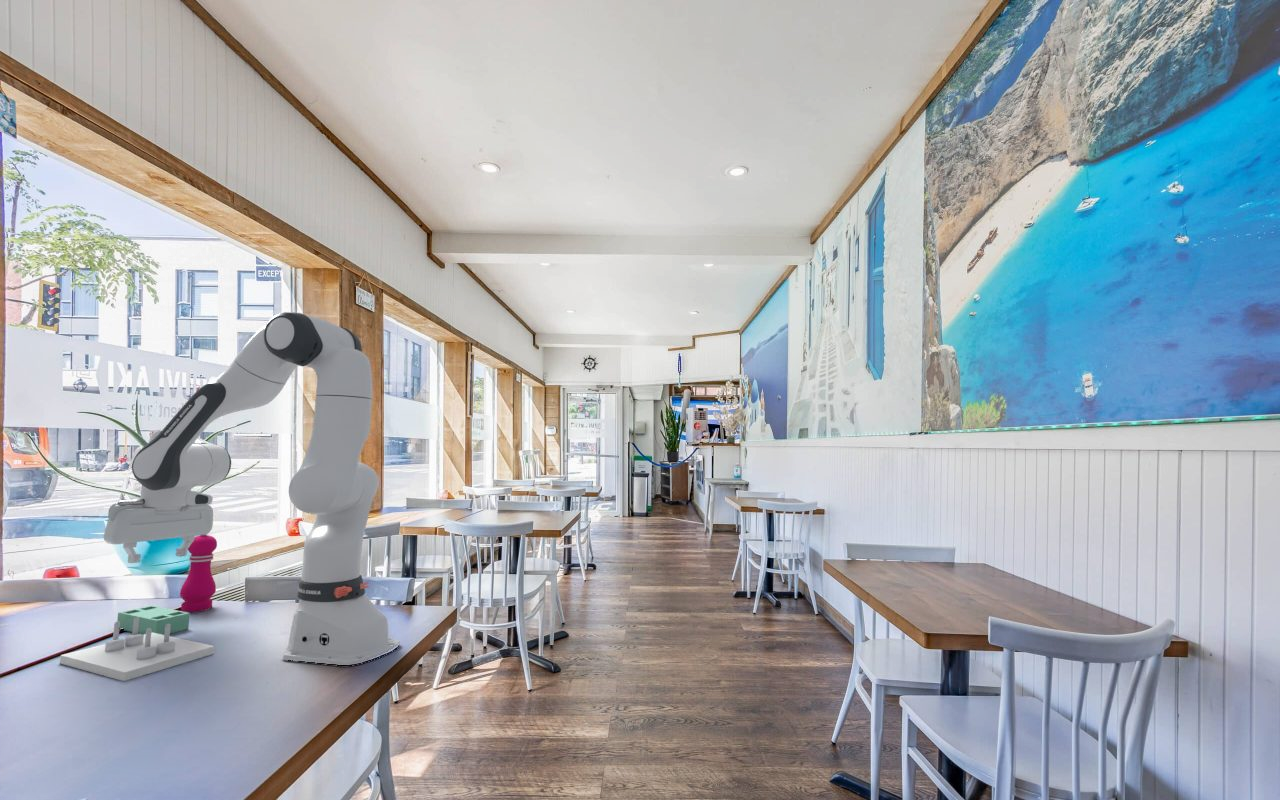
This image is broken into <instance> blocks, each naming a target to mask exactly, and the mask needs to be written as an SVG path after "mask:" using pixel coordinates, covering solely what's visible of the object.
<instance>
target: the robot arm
mask: <svg viewBox="0 0 1280 800" xmlns="http://www.w3.org/2000/svg"><path fill="white" fill-rule="evenodd" d="M362 345H363V344H362V342H361V340H360V339H359V337H358V336H357V335H356V333H354V332H352V331H351V330H349V329H348V328H345V327H344V326H343V327H342V326H338V325H336V324H334V323H332V322H329V321H328V320H326V319H324V318H320V317H316V316H311V315H307V314H304V313H302V312H295V311H284V312H280V313H278V314H274V316H272V317H271V318H270V319H269V320H268V321H267V324H266V325H264V326H262V327H261V328H259V330H257V331H256V333H254V334H253V336H252V337H250V339H249V340H248V341H247V342H246V343H245V344H244V346H243V347H241V348H242V349H241V350H240V351H239V352H238V354H237V355H236V356H235V358H234V360H233V361H232V362H231V364H230V365H229V366H228V367H227V368H226V369H225V370H224V371H223V372H222V373H221V374H219V375H218V377H216V378H214V379H213V380H211V381H209V382H208V383H206V384H204V385H202V386H201V387H200V388H199V389H198V390H197V391H195V392H194V394H193V395H192V396H190V398H189V399H188V400H187V401H186V402H185V403H184V405H183V406H182V407H181V408H180V409H179V410H178V411H177V413H176V414H175V415H174V416H173V417H172V418H171V419H170V421H168V422H167V424H166V425H165V426H164V428H162V429H157V430H156V431H154V432H152V434H151V436H150V438H149V441H148V443H146V444H145V445H144V446H143V447H142V448H140V449H139V451H138V452H137V454H136V455H135V457H133V461H132V463H131V471H132V474H133V476H134V478H135V479H136V481H137V482H138V483H139V484H140V485H141V490H140V495H139V496H140V497H139V499H131V500H125V499H124V500H119V501H117V502H115V503H114V504H112V505H111V506H110V507H109V509H108V512H107V518H108V519H107V522H106V524H105V525H106V527H105V528H104V529H105V530H104V534H103V540H104V541H105V542H106V544H110V545H123V546H122V548H123V549H124V551H125V552H126V555H128V556H127V564H135V563H140V562H141V557H142V554H141V553H137V552H136V551H135V549H134V548H137V546H138V545H137V544H138V543H143V542H150V541H159V540H161V541H162V540H168V539H177V538H181V540H182V541H183V542H182V543H181V545H180V546H179V547H177V548H176V549H175V557H186V556H187V555H188V548H189V546H190V545H191V544H192V542H193V541H194V537H197V536H200V535H205V534H207V535H209V533H210V532H211V531H212V530H213V526H214V510H213V507H212V506H211V504H212V502H213V500H214V499H213V496H212V495H210V494H206V493H202V492H198V491H195V490H191V488H192V487H199V486H200V487H201V486H202V487H204V486H212V485H215V484H219V483H222V482H223V481H224V480H225V479H226V478H227V477H228V476H229V473H230V471H231V467H232V458H231V454H230V453H229V452H228V450H227V449H226V448H225V447H224V446H223V445H222V446H221V445H219V444H218V445H216V444H214V443H212V442H209V441H206V440H205V439H203V438H201V437H200V436H201V435H202V434H203V432H204V431H205V430H206V429H207V427H208V426H209V425H210V424H212V422H214V421H216V420H217V419H219V418H221V417H223V416H227V415H229V414H233V413H236V412H241V411H245V410H252V409H256V408H257V409H258V408H260V407H264V406H266V405H268V404H269V403H271V402H272V401H273V400H274V399H276V398H277V396H279V394H280V393H281V392H282V390H283V389H284V387H285V385H286V383H287V382H288V381H289V379H290V377H291V375H292V374H293V372H294V371H295V369H296V368H298V367H308V368H312V369H313V371H314V372H315V375H316V391H315V401H314V402H315V403H314V412H313V413H314V414H313V426H312V431H311V436H310V440H309V443H308V445H307V449H306V452H305V455H304V457H303V460H302V462H301V466H300V468H299V469H298V471H296V473H295V474H294V475H293V476H292V478H291V480H290V482H289V486H288V496H289V499H290V502H291V503H292V504H293V506H294V508H296V509H297V510H299V511H301V512H303V513H306V514H311V515H316V516H315V519H314V523H313V525H312V527H311V530H310V531H309V533H308V535H307V537H306V538H305V540H304V545H303V557H302V567H301V577H300V579H299V580H298V585H297V598H298V599H299V600H298V604H297V607H296V610H295V612H294V614H293V617H292V618H293V619H292V624H291V627H290V628H291V629H290V633H289V639H288V644H287V648H286V651H285V652H284V653H283V655H282V660H283V661H288V660H291V661H290V662H298V661H305V662H304V663H307V662H315V663H314V664H317V663H329V664H338V665H350V664H353V663H357V662H361V661H364V660H368V659H370V658H373V657H376V656H378V655H381V654H383V653H385V652H388V651H389V650H391V649H393V648H394V647H396V646H397V645H398V644H399V643H401V642H400V640H398V639H395V638H393V637H390V636H389V624H388V623H389V622H388V619H387V617H386V615H385V614H384V613H383V612H382V611H381V610H380V609H379V608H378V607H377V606H376V605H375V604H374V603H373V602H372V601H371V599H369V597H368V596H367V595H366V589H367V588H369V587H370V586H369V585H368V584H370V581H366V582H364V580H363V576H362V575H361V564H362V550H363V542H364V535H365V531H366V526H367V522H368V520H369V516H370V512H371V509H372V508H371V507H372V504H373V500H374V499H375V496H376V494H377V492H378V490H379V487H380V479H379V476H378V474H377V472H376V470H375V469H373V468H372V467H371V466H369V465H367V464H366V463H363V462H361V461H360V458H361V453H362V450H363V447H364V445H365V442H366V441H367V440H368V438H369V436H370V432H371V422H372V421H371V420H372V419H371V418H372V406H373V405H372V404H373V402H372V401H373V375H372V373H373V372H372V367H371V361H370V358H369V357H368V356H367V355H366V354H365V353H364V352H363V346H362ZM390 645H393V646H390ZM292 660H293V661H292Z"/></svg>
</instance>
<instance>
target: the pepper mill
mask: <svg viewBox="0 0 1280 800" xmlns="http://www.w3.org/2000/svg"><path fill="white" fill-rule="evenodd" d="M217 546H218V541H217V539H216V538H215V536H212V535H209V534H205V535H196V536H194V541H193V542H192V544H191V545H190V546H189V548H188V550H187V552H189V554H190V555H189V556H188V558H189V559H188V562H190V567H189V572H188V575H187V576H186V578H185V581H184V583H182V586H181V588H180V591H179V592H180V593H179V596H180V598H181V599H182V600H183V601H184V602H181V604H180V605H181V606H180V611H182V612H187V613H197V612H202V611H207V610H211V608H212V607H213V599H211V598H212V597H213V596H214V595H215V594H216V591H217V586H216V582H215V580H214V577H213V574H212V571H211V569H212V568H211V564H212V560H214V553H213V552H215V550H216V549H217Z"/></svg>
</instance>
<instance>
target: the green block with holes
mask: <svg viewBox="0 0 1280 800" xmlns="http://www.w3.org/2000/svg"><path fill="white" fill-rule="evenodd" d="M190 614H191V612H182V611H181V610H176V609H171V608H167V607H161V606H157V605H147V606H143V607H142V606H141V607H138V608H133V609H130V610H124V611H120V612H119V611H118V612H117V621H119V622H120V628H123V629H124V630H123V631H125V632H126V631H127V632H130V633H133V623H134V618H135V617H139V625H138V634H143V635H144V634H146V630H147V629H148V628H151V629H152V632H153V633H157V634H162V635H164V634H165V625H166V624H170V625H171V626H170V634H173V633H177V632H182V631H185V630H189V627H190V616H191V615H190ZM117 621H116V622H117ZM152 632H151V633H152Z"/></svg>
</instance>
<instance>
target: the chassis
mask: <svg viewBox="0 0 1280 800" xmlns="http://www.w3.org/2000/svg"><path fill="white" fill-rule="evenodd" d="M138 625H139V617H135V618H134V623H133V632H131V634H132V635H127V636H126V637H125V638H119V636H120V635H119V634H120V629H119V628H120V622H119V621H115V622H114V625H113V626H114V627H113V634H112V640H107V641H105V643H104V644H100V645H97V646H93V647H89V648H83V649H80V650H76V651H71V652H68V653H64V654H60V659H59V664H61V665H65V666H67V667H68V666H69V667H71V668H74V669H78V670H82V671H86V672H89V673H92V674H95V675H96V674H97V675H99V676H100V675H101V676H103V675H104V677H107V678H111V679H114V680H119V681H122V682H126V681H129V680H132V679H135V678H139V677H142V676H145V675H148V674H152V673H156V672H159V671H162V670H165V669H169V668H171V667H175V666H178V665H182V664H185V663H189V662H191V661H194V660H198V659H200V658H204V657H207V656H212V655H214V653H215V645H211V644H207V643H202V642H199V641H198V642H197V641H193V640H188V639H185V638H179V637H175V636H170V635H171V633H170V626H171V625H170V624H166V625H165V634H164V635H162V634H157V633H153V632H152V629H151V628H148V629H147V630H146V634H144V635H143V634H139V633H138ZM151 632H152V633H151Z"/></svg>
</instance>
